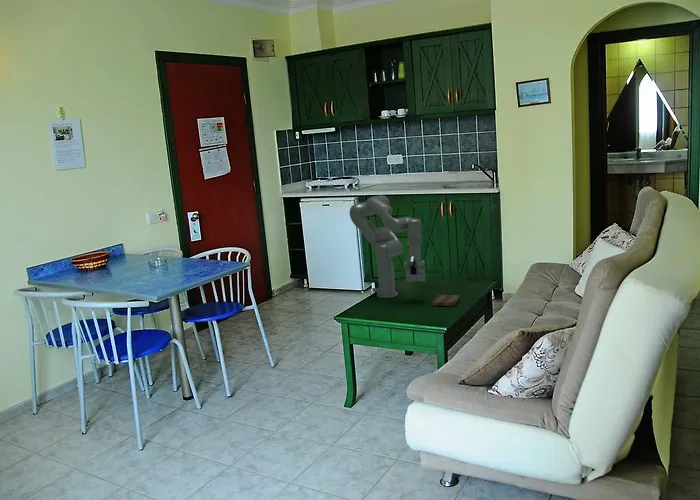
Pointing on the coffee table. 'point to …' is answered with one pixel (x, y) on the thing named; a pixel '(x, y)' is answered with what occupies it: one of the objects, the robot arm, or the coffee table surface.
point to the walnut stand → (445, 300)
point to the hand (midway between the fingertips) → (415, 272)
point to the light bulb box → (420, 272)
